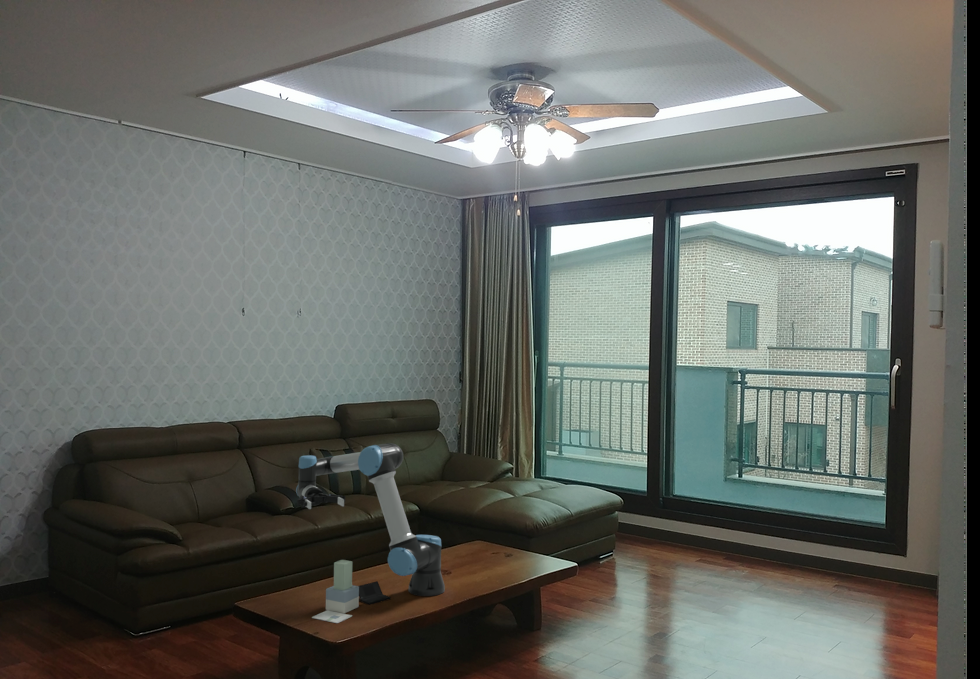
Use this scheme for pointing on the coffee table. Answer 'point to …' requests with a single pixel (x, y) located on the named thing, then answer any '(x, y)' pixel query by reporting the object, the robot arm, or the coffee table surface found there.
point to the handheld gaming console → (371, 593)
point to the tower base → (342, 605)
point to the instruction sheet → (332, 616)
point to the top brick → (342, 574)
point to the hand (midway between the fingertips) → (326, 504)
